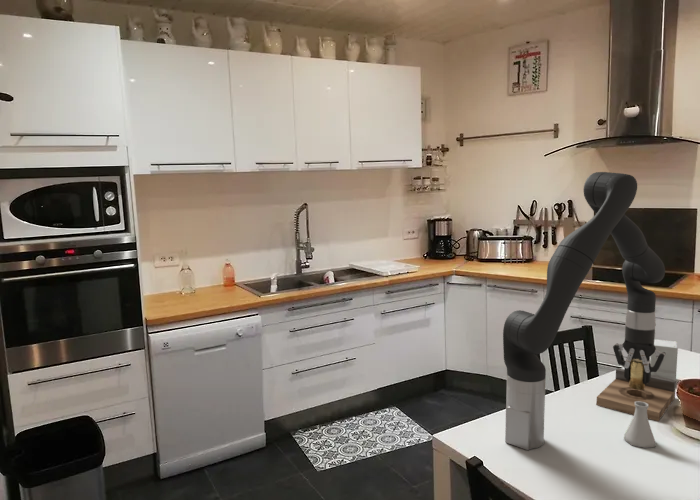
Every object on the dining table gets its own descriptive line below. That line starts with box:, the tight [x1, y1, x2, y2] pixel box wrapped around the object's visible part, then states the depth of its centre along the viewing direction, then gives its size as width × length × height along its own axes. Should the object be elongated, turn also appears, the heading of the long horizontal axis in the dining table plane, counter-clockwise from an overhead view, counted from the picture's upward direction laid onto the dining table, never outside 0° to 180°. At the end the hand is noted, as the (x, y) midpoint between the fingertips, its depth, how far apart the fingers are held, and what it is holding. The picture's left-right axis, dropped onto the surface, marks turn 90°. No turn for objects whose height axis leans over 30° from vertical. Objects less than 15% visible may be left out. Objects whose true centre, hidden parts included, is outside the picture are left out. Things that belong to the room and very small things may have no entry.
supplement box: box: [650, 338, 679, 381], centre depth 166 cm, size 7×7×13 cm
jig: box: [595, 367, 677, 422], centre depth 151 cm, size 20×16×6 cm
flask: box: [623, 401, 656, 449], centre depth 128 cm, size 7×7×10 cm
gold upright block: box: [629, 359, 645, 390], centre depth 150 cm, size 4×4×8 cm
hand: (637, 381), depth 151 cm, fingers closed on gold upright block, 4 cm apart
